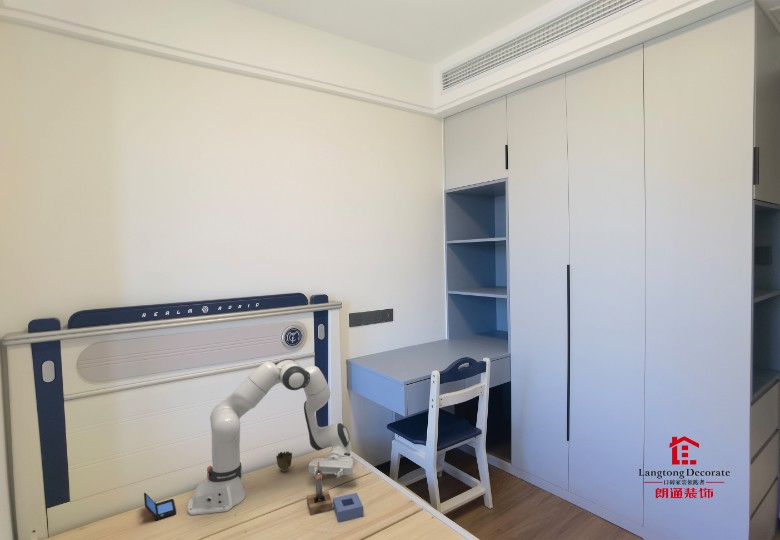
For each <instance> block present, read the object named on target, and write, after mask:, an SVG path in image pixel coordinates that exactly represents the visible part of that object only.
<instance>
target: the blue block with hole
mask: <svg viewBox="0 0 780 540" xmlns="http://www.w3.org/2000/svg"><path fill="white" fill-rule="evenodd" d="M332 503H333V511H334V513H335V517H336V520H337V522H338V523H341V522H345V521H351V520H354V519H358V518H362V517H364V505H363V502H362V501H361V498H360V497H359V495H358V493H357V492H355V493H350V494H346V495H341V496H337V497H333V498H332Z"/></svg>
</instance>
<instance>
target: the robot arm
mask: <svg viewBox="0 0 780 540" xmlns="http://www.w3.org/2000/svg"><path fill="white" fill-rule="evenodd" d="M278 384H281V385H283V386H284V387H285V388H286V389H287V390H290V391H298V390H301V389H303V391H304V393H305V397H306V399H305V401H304V403H303V412H304V417H305V418H304V419H305V421H306V426H307V431H308V438H309V444H310V447H312V448H313V449H314V450H316V451H321V450H324V449H326V448H327V449H328V448H331V449H330V450H329V452H328V453H327V455H326V456H325V457H315V458H313V459H312V460H311V461H310V462H309V464H308V467H307V468H308V472H309V473H312V474H313V477H315V473H316V472H317V471H318V468H317V462H319V468H320V471H321V472H322V474H325V475H326V474H328V475H334V478H335V479H339V478H340V477H341V476H350V475H352V474H353V473H354V464H355V463H354V460H355V459H354V454H352V453H351V451H352V442H351V440H350V433H349V431H348V428H347V427H346V426H345V425H344V424H343V423H341V422H338V423H334V424H329V425H326V426H319V425H318V421H317V417H316V416H317V415H316V412H317V411H319V410H320V409H321V408H322V407H324V406H325V405H327V403H328V401H329V400H330V397H331V390H330V387H329V384H328V382H327V379H326V378H325V375H324V373H323V372H322V371H321V370H320V368H319V367H318V366H316V365H310V366H307V367H305V368H304V367H302V366H301V365H300V363H299V362H297V361H295V360H294V359H292V358H284V359H282V360H280V361H277V362H275V363H274V362H271V361H265V362H263V363H262V364H261V365H259V366H258V367H257V368H256V369H254V370H253V372H251V373H250V374H249V375H248V377H247V378H246V379H245V380H244V381H243V382H241V384H240V385H239V386H238V388H236V389H235V390H234V391H233V392H232V393H231V394H230V395H228V396H227V397H226V398H225V399H224V400H222V401H221V402H220V403H218V404H216V406H214V408H213V409H212V411H211V412H210V417H209V420H210V429H211V465H208V466H207V467H206V468H207V469H206V471H207V473H206V474H207V475H206V478H205V479H204V480H203V481H202V482H201V483H200V484H198V485H197V486H196V489H195V490H194V494H193V496H192V497H191V498H190V499H189V501H188V504H187V514H188V515H190V516H195V515H203V514H204V515H205V514H217V513H222V512H224V513H225V512H228V511H230V510H232V508H233V507H235V506H236V505H239V504H240V503H241V502H242V501H244V499H245V498H246V492H245V489H244V486H243V480H242V475H243V467H242V462H241V449H240V448H241V447H240V446H241V444H240V443H241V421H240V419H241V417H243V416H244V415H245V414H247V412H249V411H251V410H252V409H254V408H256V406H258V404H260V402H261V400H263V399H264V397H265V396H266V395H267V394H268V393H269V392H270V390H272V388H273V387H274V386H276V385H278Z"/></svg>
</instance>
